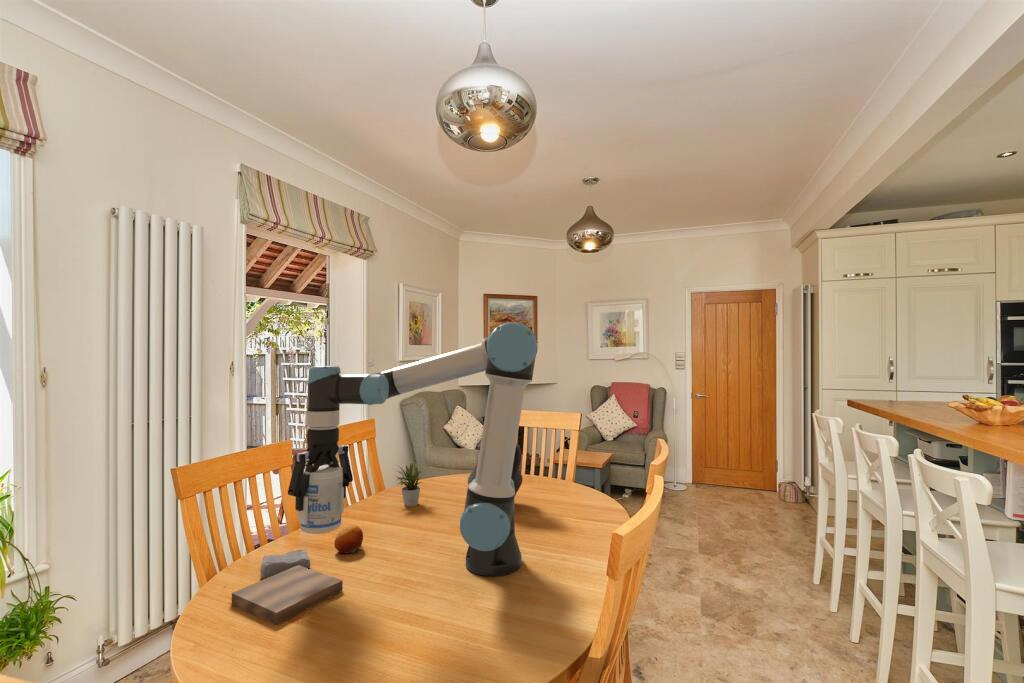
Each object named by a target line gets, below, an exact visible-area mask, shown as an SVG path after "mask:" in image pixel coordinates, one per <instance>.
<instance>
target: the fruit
mask: <svg viewBox="0 0 1024 683" xmlns="http://www.w3.org/2000/svg"><path fill="white" fill-rule="evenodd" d="M363 539H364V532H363V530H362V528H361V527H360V526H359V525H349V526H347V527H345V528H342V529H341V530H339V531H337V534H336V537H335V538H334V548H335V549H336V550H337V551H338V552H339V553H341V554H344V553H345V554H349V553H353V554H355V553H356V551H357V549H360V548H361V549H363V546H362V544H363V541H364V540H363Z"/></svg>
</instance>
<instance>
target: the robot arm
mask: <svg viewBox="0 0 1024 683" xmlns="http://www.w3.org/2000/svg"><path fill="white" fill-rule="evenodd" d="M537 354H538V341H537V337H536V335H535V332H533V330H532V329H531V328H530V327H529V326H527V325H525V324H524V323H522V322H518V321H513V322H512V321H508V322H504V323H501V324H500V325H498V326H496V327H495V328H494V329H493V331H492V332H491V333H490V334H489V337H485V338H483V339H482V341H481V342H480V343H478V344H473V345H471V346H467V347H463V348H460V349H456V350H453V351H449V352H446V353H442V354H439V355H435V356H432V357H428V358H425V359H421V360H419V361H418V360H417V361H415V362H411V363H408V364H403V365H401V366H397V367H393V368H389V369H386V370H383V371H378V372H372V373H353V374H352V373H348V374H347V373H342V371H341V368H340V366H339V365H313V366H311V367H309V370H308V378H307V384H306V385H307V416H306V418H307V420H306V422H307V423H306V426H307V427H308V429H307V430H306V444H307V448H306V450H305V451H303V452H296V453H295V454H294V466H293V470H292V474H291V477H290V482H289V486H288V489H287V495H289V496H292V497H295V498H294V499H295V511H297V524H303V525H306V524H307V518H308V496H305V494H306V492H307V490H308V487H309V479H310V474H309V475H306V474H305V473H304V469H306V470H305V472H309V473H312V472H316V470H318V469H319V466H323V465H328V466H329V467H334V468H336V467H339V466H340V467H342V473H343V487H342V513H341V514H343V513H344V510H345V509H344V506H345V503H344V500H345V499H346V497H347V487H349V485H350V483H352V482H353V480H354V478H353V472H352V468H351V462H350V458H349V446H348V445H346V444H345V445H344V444H343V445H342V444H340V445H338V442H339V441H340V428H339V427H338V426H339V425H340V406H341V405H345V404H346V405H347V404H348V405H368V406H373V405H383V404H385V402H386V401H387V400H388V399H390V398H391V399H392V397H397V396H400V395H403V394H406V393H411V392H414V391H418V390H421V389H425V388H428V387H431V386H437V385H439V384H443V383H446V382H450V381H453V380H457V379H461V378H465V377H467V376H471V375H476V374H479V373H482V372H484V374H485V376H486V378H487V379H488V381H489V387H488V393H487V394H488V395H487V400H486V406H485V407H486V408H485V412H484V421H483V426H482V434H481V439H480V443H481V445H480V451H479V452H478V453H479V454H478V459H477V461H478V465H477V472H476V478H475V479H474V480H473V481H472V482H471V483H469V485H468V484H467V490H466V497H465V503H464V509H463V512H462V513H461V516H460V518H459V532H460V534H461V537H462V539H463V540H464V542H465V543H466V544H467V545H468V546H467V547H468V548H467V551H466V555H465V568H466V569H467V570H468V571H469V572H471V573H473V574H476V575H477V576H478V575H479V576H482V577H483V576H485V577H501V576H506V575H510V574H513V573H514V572H516V571H518V570H519V569H520V568H521V567H522V564H523V563H522V562H523V559H522V558H523V557H522V553H521V550H520V547H519V543H518V540H517V537H516V528H515V527H516V523H515V522H516V519H515V515H516V514H515V497H516V495H515V488H514V481H513V480H512V479H511V475H512V469H513V462H514V456H515V449H516V443H517V442H518V436H519V435H518V434H519V428H520V420H521V416H522V408H523V402H524V394H525V388H526V386H528V385H529V384H530V383H531V382H533V376H534V370H535V363H536V358H537ZM337 455H338V456H337ZM337 457H338V458H337ZM306 462H307V463H306ZM303 473H304V474H303Z"/></svg>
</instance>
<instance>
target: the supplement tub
mask: <svg viewBox="0 0 1024 683" xmlns="http://www.w3.org/2000/svg"><path fill="white" fill-rule="evenodd" d="M305 470H306V468H305V469H304V473H305V474H306V475H309V474H310V479H309V487H308V490H307V492H306V494H305V496H308V518H307V524H306V525H303V524H300V523H299V524H300V526H299V527H300V530H301V531H302V532H303V533H305V534H310V535H311V534H313V535H317V534H318V535H319V534H325V533H331V532H333V531H335V530H337V529H339V527H341V525H342V514H343V513H342V487H343V473H342V467H341V466H340V465H339V467H336V468H334V467H329V466H328V465H327V464H325V465H323V466H319V469H318V470H316V472H312V473H309V472H305ZM304 473H303V474H304Z"/></svg>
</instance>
